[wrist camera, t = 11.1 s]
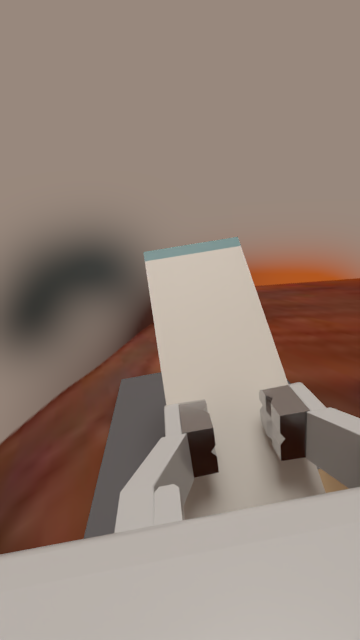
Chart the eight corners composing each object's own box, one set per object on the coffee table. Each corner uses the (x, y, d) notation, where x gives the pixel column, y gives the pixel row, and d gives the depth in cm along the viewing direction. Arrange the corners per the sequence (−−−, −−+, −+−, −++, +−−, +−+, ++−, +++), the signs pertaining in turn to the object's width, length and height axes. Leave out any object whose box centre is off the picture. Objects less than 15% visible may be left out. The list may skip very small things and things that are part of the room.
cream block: (297, 533, 13) (225, 287, 19) (356, 583, 8) (237, 236, 14) (194, 554, 13) (154, 299, 18) (197, 618, 8) (143, 252, 14)
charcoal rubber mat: (262, 357, 30) (262, 353, 30) (387, 492, 14) (388, 485, 14) (122, 383, 30) (121, 379, 29) (83, 556, 13) (81, 549, 13)
